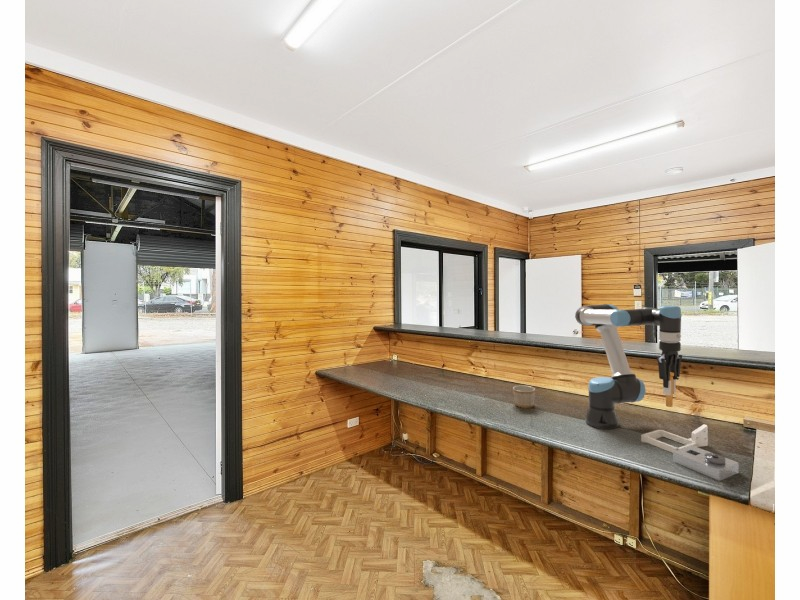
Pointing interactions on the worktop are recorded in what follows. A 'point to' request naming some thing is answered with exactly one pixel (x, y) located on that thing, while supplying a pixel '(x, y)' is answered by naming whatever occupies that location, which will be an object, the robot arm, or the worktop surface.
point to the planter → (524, 396)
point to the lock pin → (670, 398)
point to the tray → (659, 433)
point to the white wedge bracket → (700, 435)
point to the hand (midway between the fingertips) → (669, 393)
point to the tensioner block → (706, 462)
